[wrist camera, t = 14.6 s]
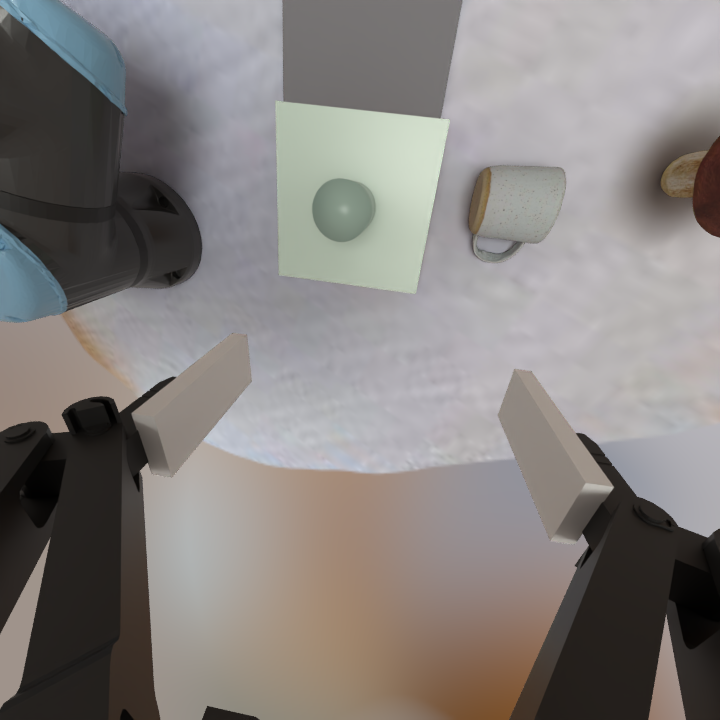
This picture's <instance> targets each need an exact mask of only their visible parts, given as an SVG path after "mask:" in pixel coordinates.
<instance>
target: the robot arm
mask: <svg viewBox="0 0 720 720" xmlns="http://www.w3.org/2000/svg"><path fill="white" fill-rule="evenodd" d="M125 81H126V69H125V63H124V60H123V58H122V56H121V54H120V52H119V50H118V49H117V47H116V46H115V44H114V43H113V42H112V41H111V40H110V39H109V38H108V37H107V36H106V35H105V34H104V33H103V32H101V31H100V30H99V29H97V28H96V27H95V26H93V25H92V24H91V23H89V22H88V21H87V20H85V19H84V18H83V17H81V16H80V15H78V14H77V13H76V12H74V11H73V10H71V9H70V8H69V7H67V6H66V5H64V4H63V3H62V2H60V1H59V0H0V321H4V322H14V323H17V322H27V321H32V320H35V319H39V318H43V317H46V316H49V315H58V314H62V313H63V312H66V311H68V310H71V309H74V308H76V307H79V306H82V305H84V304H87V303H90V302H92V301H95V300H98V299H100V298H103V297H106V296H108V295H111V294H114V293H116V292H119V291H122V290H124V289H127V288H130V287H132V288H150V289H163V288H169V287H172V286H175V285H177V284H180V283H182V282H184V281H186V280H187V279H189V278H190V277H191V276H192V275H193V274H194V272H195V271H196V269H197V267H198V265H199V262H200V258H201V249H202V248H201V237H200V233H199V229H198V226H197V223H196V221H195V219H194V217H193V215H192V213H191V211H190V209H189V208H188V206H187V205H186V204H185V202H184V201H183V200H182V199H181V197H180V196H179V195H178V194H177V193H176V192H175V191H174V190H172V189H171V188H170V187H169V186H168V185H166V184H165V183H163V182H161V181H160V180H158V179H156V178H154V177H151V176H149V175H145V174H140V173H129V172H119V169H120V158H121V147H122V136H123V125H124V116H127V109H126V107H125ZM251 381H252V378H251V369H250V359H249V349H248V339H247V335H245V334H237V333H232V334H230V335H229V336H228V337H227V338H225V339H224V340H223V341H222V342H220V343H219V344H218V345H217V346H215V347H214V348H213V349H212V350H210V351H209V352H208V353H207V354H205V355H204V356H203V357H202V358H200V359H199V360H198V361H197V362H195V363H194V364H193V365H192V366H190V367H189V368H188V369H186V370H185V371H184V372H183V373H181V374H180V375H179V376H178V377H170V378H168V379H166V380H164V381H161V382H159V383H158V384H157V385H155V386H154V387H153V388H151V389H150V391H147V392H146V393H145V394H143V395H142V397H140V398H138V399H137V400H136V401H134V402H133V403H132V404H130V405H129V406H128V407H126V408H125V409H124V410H122V411H121V412H120V413H119V412H118V409H117V406H116V404H115V402H114V399H112V398H110V397H102V396H100V397H92V398H88V399H84V400H81V401H79V402H76V403H74V404H72V405H70V406H69V407H68V408H66V409H65V410H64V412H63V413H62V417H63V419H64V421H65V423H66V425H67V427H68V429H69V432H63V433H51V431H50V429H49V427H48V425H47V424H46V423H44V422H40V421H38V422H27V423H21V424H18V425H16V426H12V427H9V428H8V429H6V430H4V431H2V432H0V633H1V631H2V629H3V627H4V626H5V624H6V622H7V619H8V618H9V616H10V614H11V612H12V610H13V608H14V606H15V604H16V602H17V600H18V598H19V597H20V595H21V592H22V591H23V589H24V587H25V585H26V583H27V581H28V579H29V577H30V575H31V573H32V572H33V570H34V568H35V566H36V564H37V562H38V560H39V558H40V556H41V554H42V552H43V550H44V548H45V546H46V545H47V543H48V541H49V539H50V544H49V549H48V553H47V558H46V563H45V568H44V573H43V578H42V583H41V588H40V593H39V598H38V603H37V608H36V613H35V618H34V623H33V628H32V632H31V638H30V642H29V648H28V653H27V657H26V663H25V667H24V672H23V677H22V681H21V685H20V688H19V690H18V691H17V693H16V695H15V696H14V697H12V698H10V699H9V700H8V701H6V702H5V703H4V704H3V706H2V707H1V709H0V720H160V715H159V710H158V706H157V701H156V697H155V691H154V680H153V679H154V678H153V661H152V643H151V625H150V608H149V589H148V573H147V554H146V538H145V537H146V536H145V520H144V501H143V483H142V476H141V473H140V470H141V469H142V468H143V467H144V466H145V464H147V463H148V464H149V467H150V470H151V473H152V474H153V475H159V476H165V477H173V475H174V474H175V473H176V472H177V471H178V470H179V468H180V467H181V466H182V465H183V463H184V462H185V461H186V460H187V459H188V457H189V456H190V455H191V454H192V452H193V451H194V450H195V449H196V448H197V447H198V445H199V444H200V443H201V442H202V441H203V439H204V438H205V437H206V436H207V435H208V433H209V432H210V431H211V430H212V428H213V427H214V426H215V425H216V424H217V422H218V421H219V420H220V419H221V418H222V416H223V415H224V414H225V413H226V412H227V410H228V409H229V408H230V407H231V406H232V404H233V403H234V402H235V401H236V399H237V398H238V397H239V396H240V395H241V393H242V392H243V391H244V390H245V389H246V387H247V386H248V385H249V384H250V383H251ZM498 417H499V420H500V422H501V424H502V427H503V429H504V432H505V434H506V436H507V439H508V441H509V443H510V446H511V448H512V451H513V453H514V455H515V458H516V460H517V463H518V465H519V467H520V470H521V472H522V475H523V477H524V479H525V482H526V484H527V486H528V489H529V491H530V493H531V496H532V499H533V501H534V503H535V506H536V508H537V510H538V513H539V515H540V518H541V520H542V522H543V525H544V527H545V530H546V532H547V534H548V537H549V539H550V541H553V542H559V543H565V544H571V545H575V544H576V542H577V541H578V539H579V538H580V536H581V535H582V534H583V535H584V536H585V539H586V541H587V542H588V544H589V546H588V548H587V549H586V551H585V552H584V553H583V555H582V556H581V557H580V559H579V560H578V562H577V563H576V565H575V566H576V567H577V570H576V572H575V574H574V576H573V579H572V581H571V583H570V585H569V588H568V590H567V592H566V594H565V596H564V599H563V601H562V603H561V605H560V608H559V610H558V612H557V614H556V616H555V619H554V621H553V623H552V625H551V628H550V630H549V632H548V634H547V637H546V639H545V641H544V643H543V645H542V648H541V650H540V652H539V655H538V657H537V659H536V661H535V663H534V666H533V668H532V670H531V672H530V674H529V677H528V679H527V681H526V683H525V686H524V688H523V690H522V692H521V695H520V697H519V699H518V701H517V703H516V706H515V708H514V710H513V712H512V715H511V717H510V719H509V720H648V718H649V712H650V706H651V700H652V694H653V688H654V682H655V676H656V670H657V664H658V658H659V652H660V646H661V640H662V634H663V628H664V623H665V617H666V615H667V620H668V625H669V631H670V636H671V641H672V646H673V652H674V658H675V662H676V668H677V674H678V679H679V684H680V690H681V695H682V701H683V706H684V710H685V716H686V720H720V529H718V530H716V531H715V532H713V534H712V535H711V536H710V537H708V538H707V537H704V536H702V535H699V534H696V533H694V532H691V531H688V530H686V529H683V528H681V527H678V525H677V524H676V522H675V521H674V520H673V518H672V517H671V516H669V514H667V513H666V512H665V511H664V510H663V509H661V508H660V507H658V506H657V505H655V504H654V503H652V502H650V501H647V500H645V499H643V498H639V497H637V496H636V494H635V493H634V492H633V491H632V489H631V488H630V487H629V485H628V484H627V483H626V481H625V480H624V479H623V478H622V476H621V475H620V474H619V472H618V471H617V470H616V469H615V467H614V466H612V463H611V462H610V461H609V459H608V458H607V457H605V454H604V453H603V452H602V450H601V449H600V448H599V446H598V445H597V444H596V443H595V442H594V441H592V440H591V439H590V438H588V437H587V436H586V435H585V434H581V433H575V432H574V430H573V429H572V428H571V426H570V425H569V423H568V422H567V421H566V419H565V418H564V416H563V415H562V414H561V412H560V411H559V409H558V408H557V407H556V405H555V404H554V402H553V401H552V400H551V398H550V397H549V395H548V394H547V392H546V391H545V390H544V388H543V387H542V385H541V384H540V383H539V381H538V380H537V378H536V377H535V376H534V374H533V373H532V371H526V370H518V369H514V372H513V375H512V378H511V380H510V383H509V386H508V389H507V391H506V394H505V397H504V400H503V402H502V405H501V408H500V411H499V413H498ZM50 537H51V538H50ZM202 720H259V719H258V718H256V717H254V716H249V715H244V714H240V713H236V712H231V711H227V710H223V709H218V708H214V707H209V706H207V708H206V711H205V713H204V716H203V718H202Z"/></svg>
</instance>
